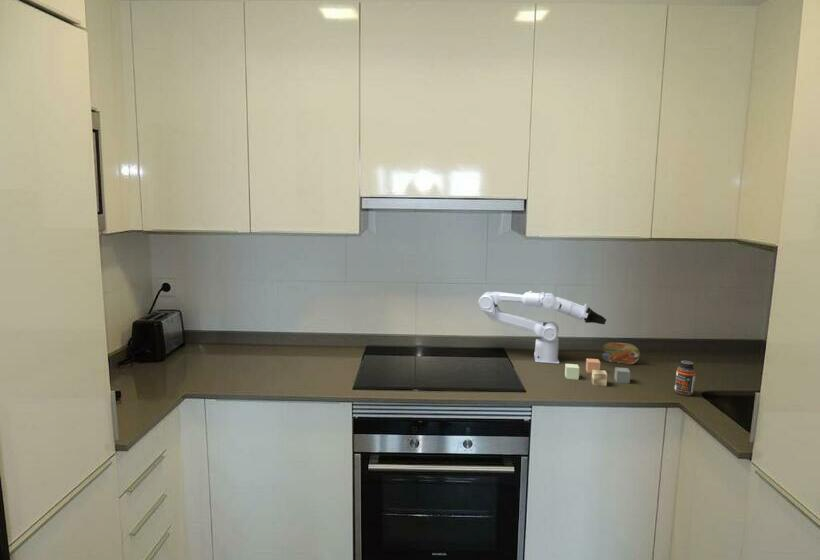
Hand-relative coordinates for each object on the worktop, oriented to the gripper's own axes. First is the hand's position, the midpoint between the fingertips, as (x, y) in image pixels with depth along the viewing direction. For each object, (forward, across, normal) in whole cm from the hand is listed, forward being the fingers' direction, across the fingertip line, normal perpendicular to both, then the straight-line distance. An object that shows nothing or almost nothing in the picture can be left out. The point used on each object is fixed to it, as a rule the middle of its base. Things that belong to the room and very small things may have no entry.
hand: (604, 321), depth 211 cm
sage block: (-5, -15, +23) cm, 28 cm away
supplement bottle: (+31, -20, +13) cm, 39 cm away
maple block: (+4, -19, +21) cm, 29 cm away
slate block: (+12, -14, +18) cm, 25 cm away
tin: (+13, +10, +15) cm, 22 cm away
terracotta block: (+2, -5, +20) cm, 21 cm away
